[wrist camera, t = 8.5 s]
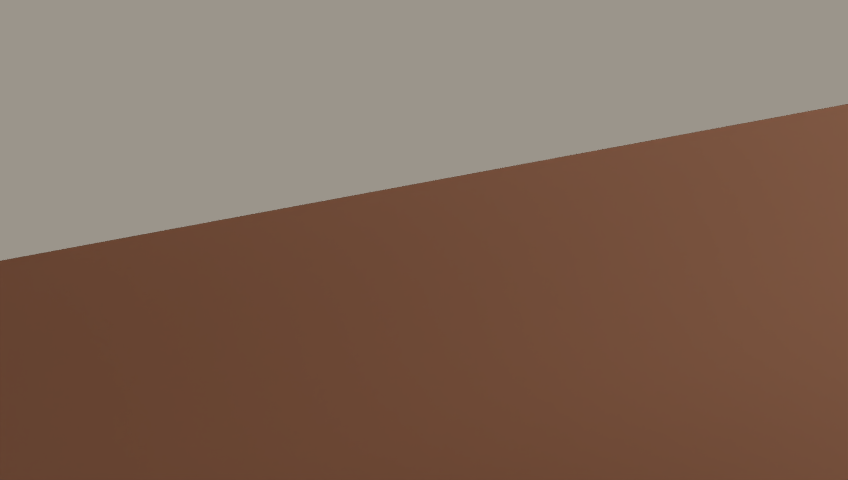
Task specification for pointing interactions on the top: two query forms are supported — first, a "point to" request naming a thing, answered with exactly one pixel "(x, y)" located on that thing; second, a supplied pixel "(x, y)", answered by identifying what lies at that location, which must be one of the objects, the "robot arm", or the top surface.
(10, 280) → the wooden bar
